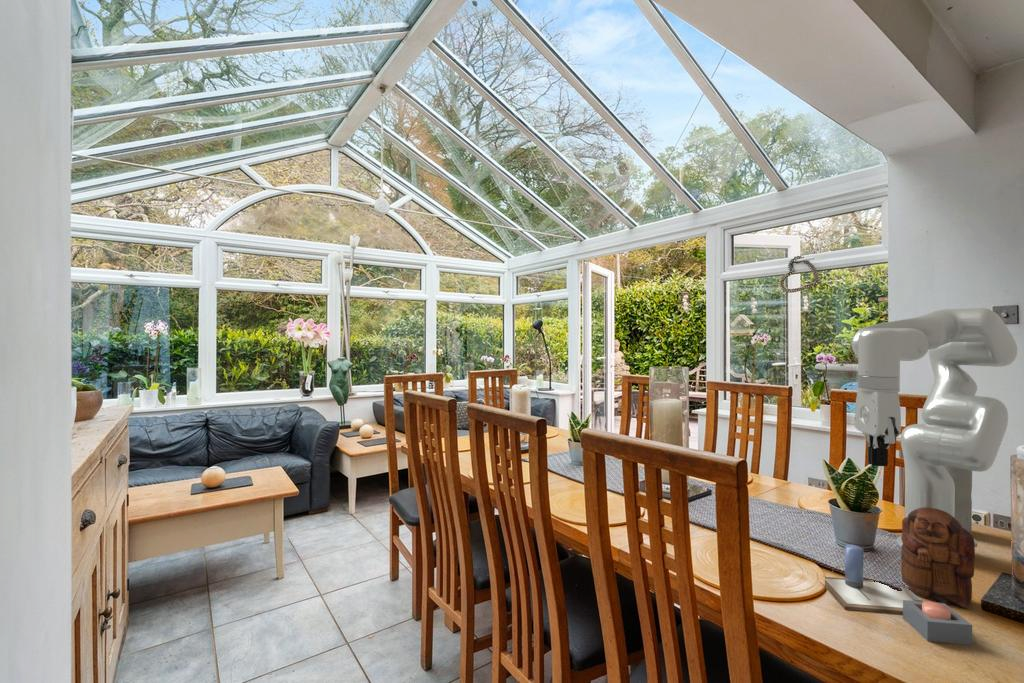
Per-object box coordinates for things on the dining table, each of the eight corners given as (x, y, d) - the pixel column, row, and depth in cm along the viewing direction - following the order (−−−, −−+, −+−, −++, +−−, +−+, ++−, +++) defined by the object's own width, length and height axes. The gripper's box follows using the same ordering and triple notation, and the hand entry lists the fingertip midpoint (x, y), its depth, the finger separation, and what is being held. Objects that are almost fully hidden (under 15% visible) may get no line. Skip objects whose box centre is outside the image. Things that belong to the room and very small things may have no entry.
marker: (858, 581, 106) (858, 545, 106) (866, 589, 103) (866, 551, 103) (842, 580, 107) (842, 544, 106) (849, 587, 103) (850, 550, 103)
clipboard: (897, 584, 106) (897, 579, 106) (935, 616, 94) (935, 610, 94) (817, 579, 109) (817, 573, 109) (844, 609, 97) (844, 603, 97)
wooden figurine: (897, 590, 104) (898, 506, 103) (901, 579, 108) (902, 499, 108) (973, 613, 95) (974, 522, 95) (975, 600, 100) (976, 513, 99)
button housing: (944, 621, 93) (944, 603, 92) (972, 644, 86) (972, 625, 86) (902, 617, 94) (902, 600, 94) (927, 640, 87) (927, 621, 87)
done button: (940, 620, 91) (940, 602, 91) (956, 633, 87) (956, 614, 87) (916, 618, 92) (916, 600, 92) (931, 631, 88) (931, 612, 88)
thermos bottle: (958, 526, 137) (959, 427, 137) (979, 538, 129) (980, 433, 129) (925, 524, 139) (926, 426, 138) (944, 535, 131) (945, 432, 130)
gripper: (843, 380, 117) (842, 456, 118) (879, 387, 103) (878, 474, 103) (877, 380, 116) (877, 457, 116) (919, 388, 101) (918, 475, 102)
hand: (877, 464), depth 110 cm, fingers closed
